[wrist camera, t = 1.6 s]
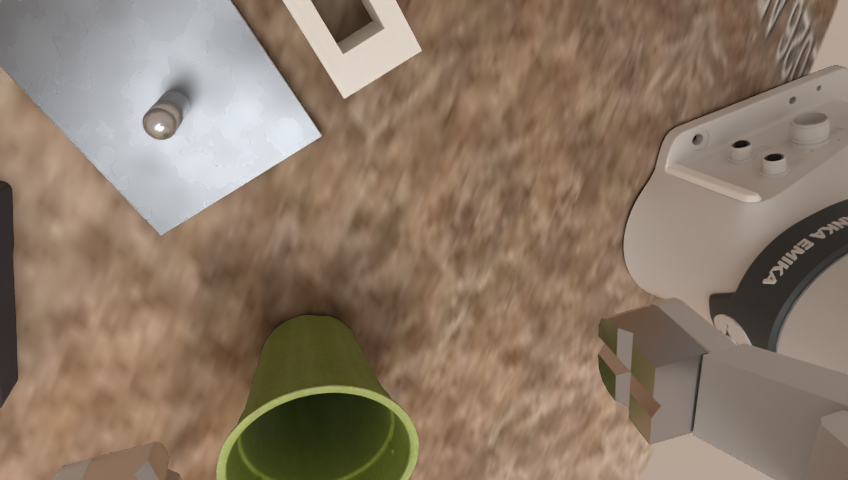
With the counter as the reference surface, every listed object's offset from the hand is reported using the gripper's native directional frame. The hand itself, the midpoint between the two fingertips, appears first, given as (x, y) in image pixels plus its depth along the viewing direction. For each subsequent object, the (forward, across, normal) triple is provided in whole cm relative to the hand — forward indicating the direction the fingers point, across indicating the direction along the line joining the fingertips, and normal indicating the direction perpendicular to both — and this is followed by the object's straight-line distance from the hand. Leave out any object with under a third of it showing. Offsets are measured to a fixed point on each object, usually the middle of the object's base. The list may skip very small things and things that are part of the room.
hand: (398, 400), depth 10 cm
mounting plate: (+28, +10, -7) cm, 30 cm away
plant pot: (+28, +4, +19) cm, 34 cm away
